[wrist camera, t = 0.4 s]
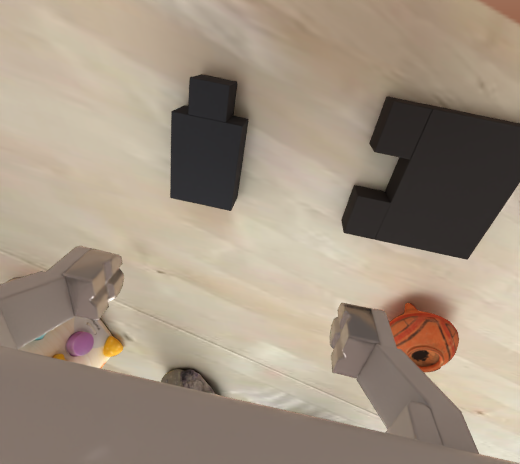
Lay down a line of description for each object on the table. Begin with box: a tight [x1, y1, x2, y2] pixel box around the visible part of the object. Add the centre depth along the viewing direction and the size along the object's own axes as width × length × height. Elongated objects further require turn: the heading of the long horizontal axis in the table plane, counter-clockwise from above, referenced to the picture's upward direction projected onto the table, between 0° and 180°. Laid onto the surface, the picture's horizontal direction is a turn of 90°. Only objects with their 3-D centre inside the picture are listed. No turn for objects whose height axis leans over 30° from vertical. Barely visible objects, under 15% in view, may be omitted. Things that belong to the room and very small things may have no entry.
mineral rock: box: [161, 369, 216, 395], centre depth 47 cm, size 13×11×10 cm
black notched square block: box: [341, 97, 520, 259], centre depth 27 cm, size 12×12×2 cm
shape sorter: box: [6, 278, 123, 368], centre depth 38 cm, size 20×10×18 cm, turn 19°
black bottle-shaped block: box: [170, 74, 248, 211], centre depth 28 cm, size 6×11×3 cm, turn 170°
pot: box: [389, 303, 459, 372], centre depth 35 cm, size 8×8×7 cm
